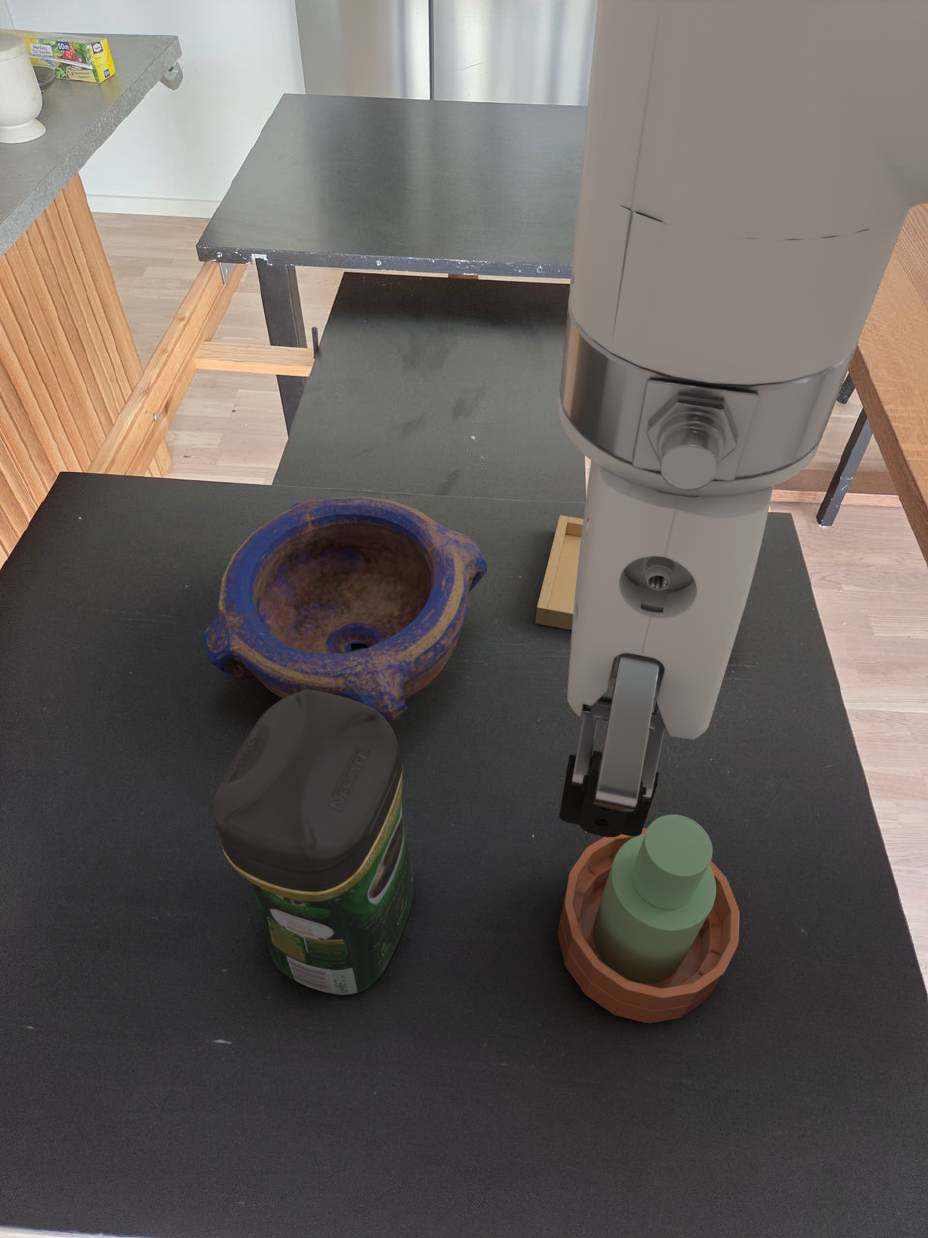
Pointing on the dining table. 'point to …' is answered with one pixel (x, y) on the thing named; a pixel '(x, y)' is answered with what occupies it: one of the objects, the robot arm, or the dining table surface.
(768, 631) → the dining table surface
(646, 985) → the clay bowl
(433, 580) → the bowl
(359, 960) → the coffee jar
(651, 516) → the robot arm
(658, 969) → the bottle
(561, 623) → the tray
